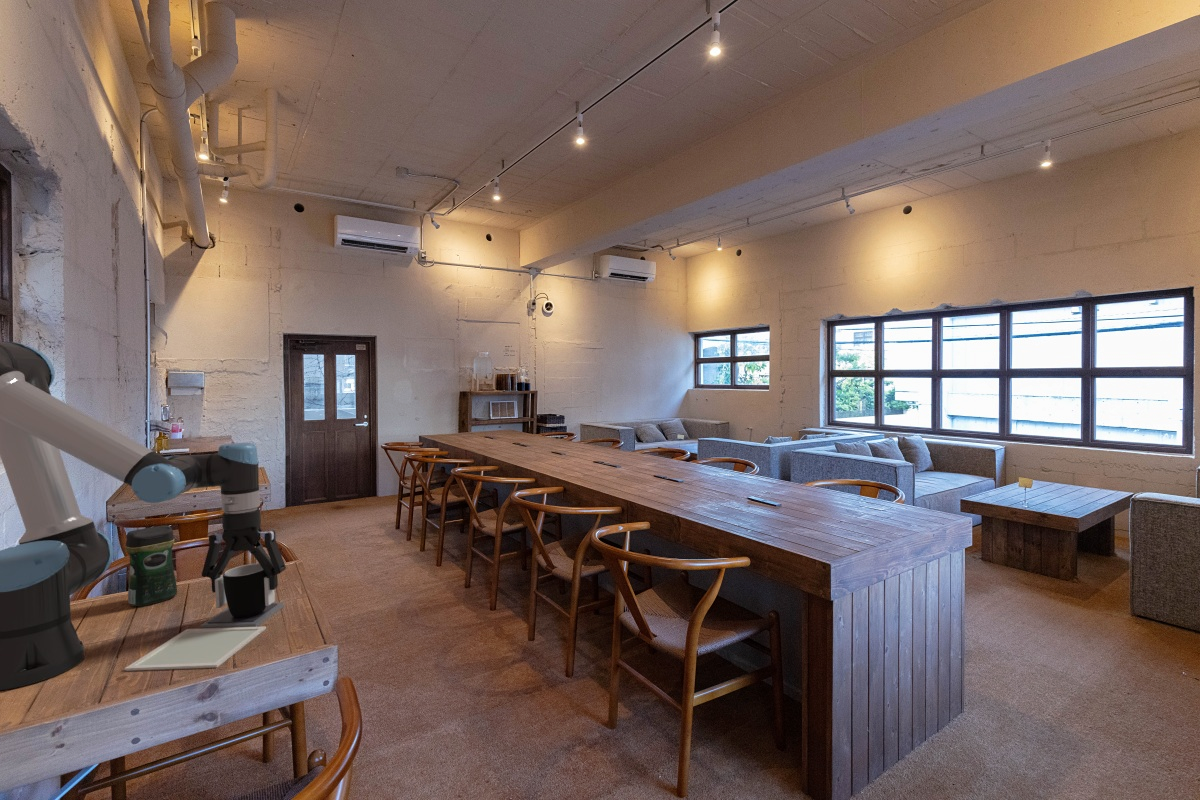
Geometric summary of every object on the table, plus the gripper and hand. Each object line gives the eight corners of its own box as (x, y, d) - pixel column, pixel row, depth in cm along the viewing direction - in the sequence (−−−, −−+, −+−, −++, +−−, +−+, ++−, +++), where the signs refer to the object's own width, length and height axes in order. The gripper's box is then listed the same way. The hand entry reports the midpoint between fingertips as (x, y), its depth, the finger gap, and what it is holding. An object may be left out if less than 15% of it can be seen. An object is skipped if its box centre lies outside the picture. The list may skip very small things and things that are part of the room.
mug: (279, 608, 131) (276, 565, 130) (239, 623, 123) (236, 578, 123) (250, 600, 137) (247, 559, 136) (210, 615, 129) (207, 571, 128)
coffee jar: (170, 591, 147) (168, 521, 147) (181, 597, 142) (178, 525, 142) (123, 602, 140) (121, 529, 139) (132, 610, 135) (130, 534, 134)
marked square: (124, 670, 106) (124, 668, 106) (186, 631, 123) (186, 629, 123) (217, 667, 106) (216, 665, 106) (266, 628, 123) (266, 626, 123)
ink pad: (200, 629, 123) (200, 624, 123) (233, 608, 135) (233, 603, 135) (255, 628, 124) (255, 622, 124) (283, 606, 136) (283, 601, 136)
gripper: (178, 515, 124) (183, 613, 125) (283, 511, 126) (287, 608, 126) (201, 508, 132) (205, 600, 133) (299, 504, 133) (303, 595, 134)
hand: (245, 604), depth 129 cm, fingers open, 10 cm apart
